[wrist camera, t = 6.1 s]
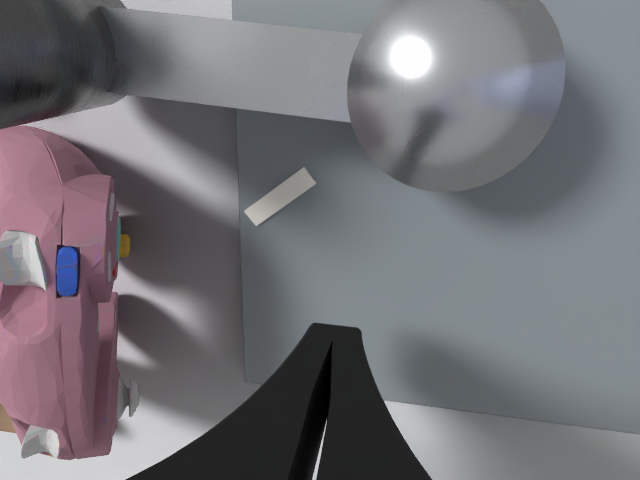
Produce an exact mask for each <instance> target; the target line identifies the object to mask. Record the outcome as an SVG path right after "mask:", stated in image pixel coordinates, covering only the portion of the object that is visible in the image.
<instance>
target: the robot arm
mask: <svg viewBox="0 0 640 480" xmlns="http://www.w3.org/2000/svg"><path fill="white" fill-rule="evenodd" d="M326 420H327V425H326V431H325V436H324V442H323V447H322V453H321V458H320V463H319V468H318V474H317V479H316V480H432V479H431V477H430V476H429V475H428V473H427V472H426V471H425V469H424V468H423V466H422V465H421V464H420V462H419V461H418V459H417V458H416V457H415V455H414V454H413V452H412V451H411V449H410V448H409V446H408V444H407V443H406V441H405V440H404V438H403V436H402V435H401V433H400V431H399V429H398V428H397V426H396V424H395V422H394V421H393V419H392V417H391V415H390V413H389V411H388V409H387V407H386V405H385V403H384V401H383V399H382V396H381V394H380V392H379V390H378V387H377V385H376V382H375V380H374V377H373V375H372V372H371V369H370V367H369V364H368V360H367V357H366V354H365V350H364V346H363V341H362V331H361V330H360V329H359V328H358V327H349V326H340V325H332V324H323V323H313V324H311V325H310V326H309V328H308V329H307V331H306V333H305V334H304V336H303V337H302V339H301V340H300V341H299V343H298V344H297V345H296V347H295V348H294V349H293V351H292V352H291V353H290V354H289V356H288V357H287V358H286V359H285V360H284V362H283V363H282V364H281V365H280V367H279V368H278V369H277V370H276V371H275V372H274V373H273V374H272V375H271V376H270V377H269V378H268V379H267V381H266V382H265V383H264V384H263V385H262V386H261V387H260V388H259V389H258V390H257V391H256V392H255V393H254V394H253V395H252V396H251V397H249V398H248V399H247V400H246V401H245V402H244V403H243V404H242V405H240V406H239V407H238V408H237V409H236V410H235V411H234V412H232V413H231V414H230V415H229V416H227V417H226V418H225V419H223V420H222V421H221V422H220V423H218V424H217V425H216V426H214V427H213V428H212V429H210V430H209V431H208V432H206V433H205V434H203V435H202V436H201V437H199V438H197V439H196V440H194V441H193V442H191V443H190V444H188V445H187V446H185V447H183V448H182V449H180V450H179V451H177V452H176V453H174V454H173V455H171V456H169V457H168V458H166V459H164V460H162V461H161V462H159V463H157V464H155V465H153V466H151V467H149V468H147V469H145V470H143V471H141V472H140V473H138V474H136V475H134V476H132V477H130V478H128V479H126V480H312V477H313V473H314V469H315V465H316V461H317V457H318V452H319V448H320V444H321V440H322V436H323V432H324V428H325V424H326Z"/></svg>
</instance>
